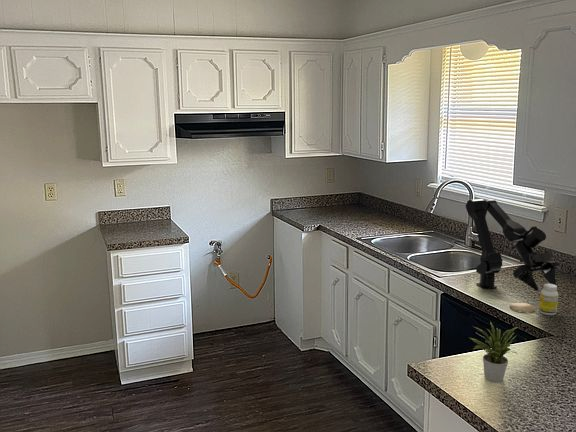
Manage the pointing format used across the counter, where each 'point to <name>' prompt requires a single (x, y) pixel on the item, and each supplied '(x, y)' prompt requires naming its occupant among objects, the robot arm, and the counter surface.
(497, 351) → the house plant
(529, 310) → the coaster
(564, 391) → the counter surface
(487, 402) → the counter surface
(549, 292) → the pill bottle
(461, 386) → the counter surface
